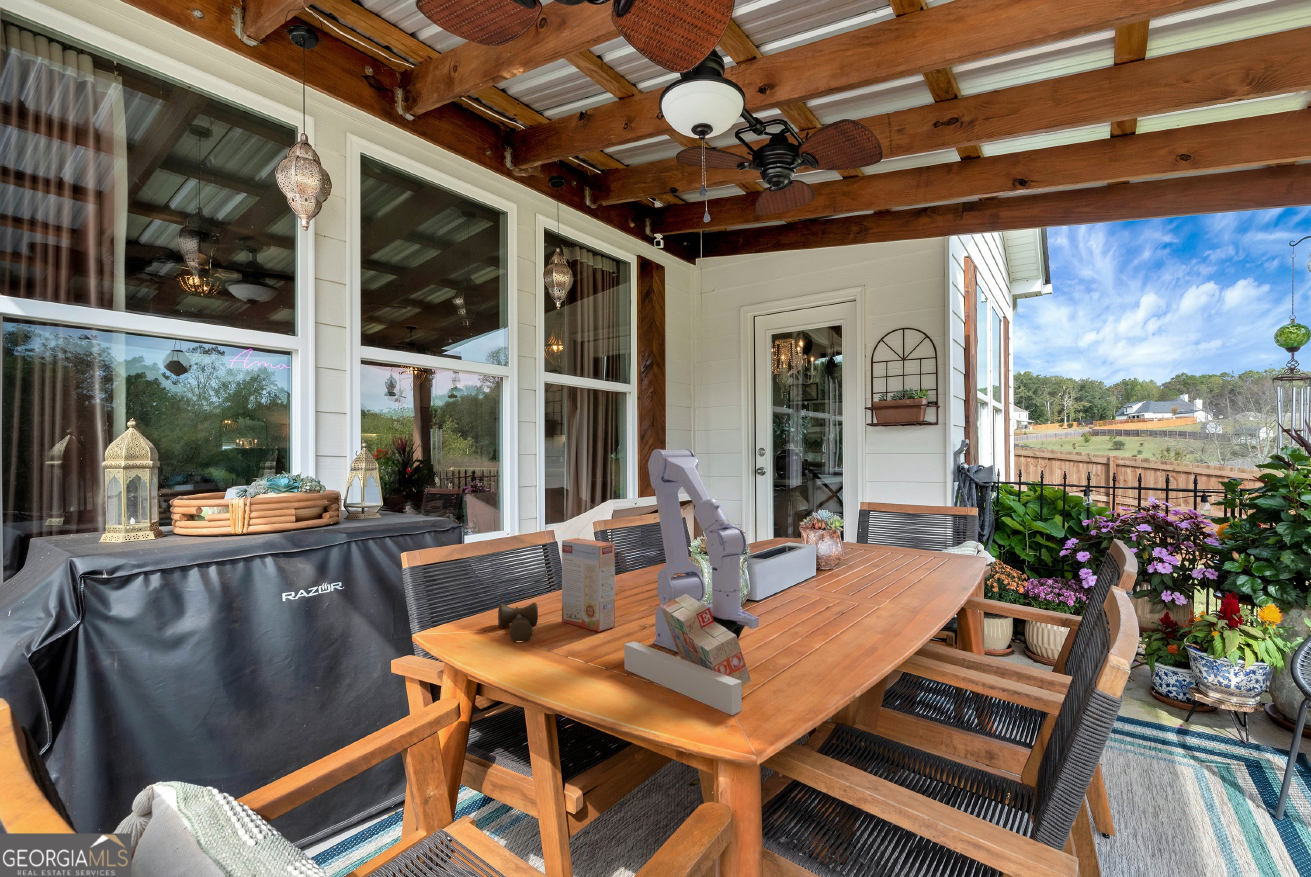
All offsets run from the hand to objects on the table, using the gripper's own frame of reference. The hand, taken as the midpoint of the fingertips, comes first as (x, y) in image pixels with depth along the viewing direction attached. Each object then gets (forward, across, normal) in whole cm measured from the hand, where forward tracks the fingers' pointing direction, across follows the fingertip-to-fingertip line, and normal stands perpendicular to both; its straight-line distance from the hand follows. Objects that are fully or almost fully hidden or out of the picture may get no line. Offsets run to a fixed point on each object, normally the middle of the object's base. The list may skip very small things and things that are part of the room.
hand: (727, 656), depth 119 cm
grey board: (+2, 0, +14) cm, 14 cm away
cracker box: (+3, +43, +3) cm, 43 cm away
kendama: (+3, +51, +17) cm, 54 cm away
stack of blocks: (+2, 0, +4) cm, 4 cm away
